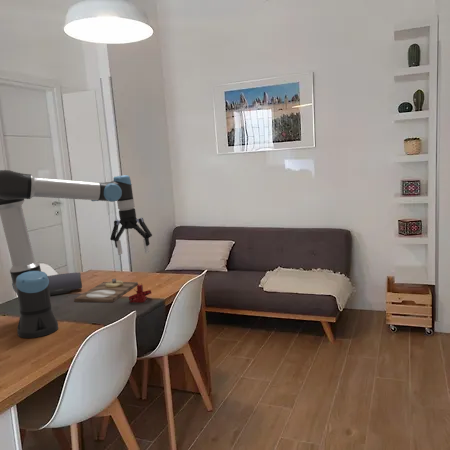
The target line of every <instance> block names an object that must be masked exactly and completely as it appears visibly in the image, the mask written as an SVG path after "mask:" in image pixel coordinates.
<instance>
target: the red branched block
mask: <svg viewBox="0 0 450 450" xmlns="http://www.w3.org/2000/svg"><path fill="white" fill-rule="evenodd" d="M134 291H135V292H136V293H135V294H131V295H130V296H129V297H128V300H129V303H136V304H137V303H145V302H146V301H147V298H148V297H147V296H149V295H151V294H152V290H151V289H149V290H145V291H144V285H143V283H141V284H138V285H137V286H136V289H134Z"/></svg>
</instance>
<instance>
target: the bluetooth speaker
mask: <svg viewBox="0 0 450 450" xmlns="http://www.w3.org/2000/svg"><path fill="white" fill-rule="evenodd" d="M81 274H82V273H81V272H67V273H58V274H52V275H47V276H48V279H49V291H50V296H54V295H61V294H67V293H71V291H74V290H75V291H76V290H78V289H82V288H83V283H82V275H81Z"/></svg>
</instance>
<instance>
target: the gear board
mask: <svg viewBox="0 0 450 450" xmlns="http://www.w3.org/2000/svg"><path fill="white" fill-rule="evenodd" d="M138 285H139V283H138V281H122V280H117V279H116V278H112V279H111V281H103V282H101V283H99V284H97V285H96V286H94V287H92V288H91V289H89V290H87V291H85V292H83V293H82V294H80V295H78V296H77V297H75V298H74V299H73V301H74V302H75V303H76V302H77V303H114V302H116V301H117V300H118V299H119V298H121V297H122V296H124V295H125V294H127V293H128V292H130V291H132V289H134V288H135V287H137V286H138Z"/></svg>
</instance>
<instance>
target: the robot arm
mask: <svg viewBox="0 0 450 450" xmlns="http://www.w3.org/2000/svg"><path fill="white" fill-rule="evenodd" d="M112 179H113V180H112V181H108V182H96V181H95V182H94V181H86V180H85V181H84V180H72V179H71V180H70V179H59V178H47V177H46V178H45V177H35V176H34V175H32V174H30V173H23V172H22V173H21V172H18V171H17V172H16V171H14V170H8V169H0V220H1V224H2V229H3V232H4V235H5V241H6V243H7V244H6V245H7V248H8V252H9V256H10V261H11V264H12V266H11V268H10V269H9V274H10V278H11V280H12V281H11V282H12V283H11V284H12V285H11V286H12V289H13V291H14V292H15V293H16V295H17V299H18V308H19V320H18V323H17V324H18V325H17V329H16V331H17V336H18V338H23V339H34V338H40V337H45V336H47V335H50V334H52V333H55V332H56V331H57V330H58V329H59V322H58V320H57V318H56V316H55V314H54V311H53V309H52V302H51V301H52V300H51V299H52V298H51V295H50V291H49V279H48V276H49V275H48V274H47V273H46V272H45V271H42V269H41V265H40V263H39V262H38V261H36V260H35V257H34V252H33V248H32V245H31V244H32V243H31V240H30V235H29V233H28V227H27V224H26V223H27V222H26V219H25V214H24V209H23V207H22V206H23V204H24V202H25V200H31V199H33V198H34V197H35V198H51V199H68V200H84V201H86V200H87V201H91V202H99V201H102V202H103V201H104V202H112V203H113V202H117V209H118V216H119V219H115V220H114V221H113V227H112V228H113V229H112V231H111V236H110V240H111V241H114V245H115V248H116V249H117V253H118V256H120V255H122V254H123V248H122V243H121V242H122V241H121V240H120V238H121V237H122V234H123V233H124V231H125V230H129V229H131V230H132V229H133V230H135V231H136V232H137V233H138V234H139V235H140V236H141V237H142V238H143V240H142V241H143V247H144V249H143V250H144V254H148V253H149V252H150V250H149V246H150V240H149V239H150V238H151V237H153V234H152V232H151V231H150V230H149V227H148V226H147V224H146V223H145V220H144V217H140V218H137V213H136V209H135V201H134V194H133V188H132V185H133V184H132V180H131V177H130V176H129V175H127V174H126V175H125V174H123V175H117V176H114V177H113V178H112ZM137 223H138V224H137ZM119 225H121V226H120V229H119ZM118 229H119V230H118Z"/></svg>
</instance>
